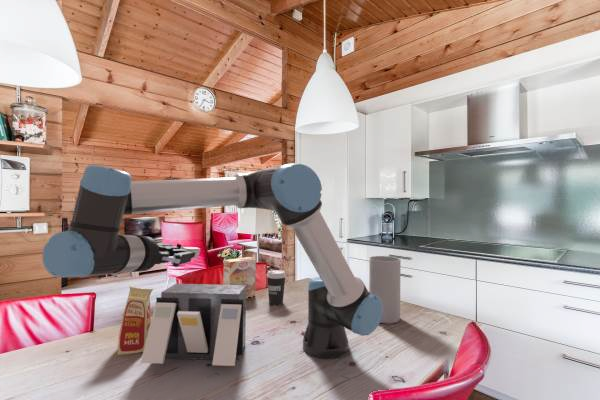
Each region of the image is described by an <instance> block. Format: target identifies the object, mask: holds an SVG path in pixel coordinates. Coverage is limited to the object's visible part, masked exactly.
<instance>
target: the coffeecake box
mask: <svg viewBox="0 0 600 400" xmlns="http://www.w3.org/2000/svg"><path fill="white" fill-rule="evenodd" d="M256 266H257V259H256V258H254V257H252V256H245V257H239V258H238V257H237V258H229V259H224V260H223V282H222V285H246V298H247V297H251V298H253V297H252V296H255V297H256V283H257V281H256V276H257V275H256V273H257V267H256ZM247 299H248V298H247Z"/></svg>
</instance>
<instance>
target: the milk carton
mask: <svg viewBox="0 0 600 400" xmlns="http://www.w3.org/2000/svg"><path fill="white" fill-rule="evenodd" d="M128 288H129V293H128V295H127V300H126V303H125V307H124V309H123V313H122V318H121V323H120V327H119V328H120V329H119V335H118V343H117V356H119V355H121V356H122V355H131V354H138V353H143V352H144V348H145V344H146V340H147V335H148V331H149V327H150V323H151V319H152V313H151V296H150V295H151V293H152V291H153V290H154V288H141V287H136V286H132V285H129V287H128Z"/></svg>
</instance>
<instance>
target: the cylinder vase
mask: <svg viewBox="0 0 600 400" xmlns="http://www.w3.org/2000/svg"><path fill="white" fill-rule="evenodd" d="M401 263H402V262H401V258H398V257H396V256H385V255H375V256H374V255H373V256H369V265H368V267H369V271H368V272H369V273H368V274H369V275H368V276H369V277H368V279H369V280H368V282H369V283H368V285H369V286H368V288H369V289H368V290H369V291H368V292H369V293H370V294H375V295H376V296H378V297H379V298H380V299H381V301H382V305H383V314H382V318H381V321H380V323H379V324H387V325H390V324H392V325H393V324H397V323H398V322H400V321H401V268H402V267H401V266H402V265H401Z"/></svg>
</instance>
